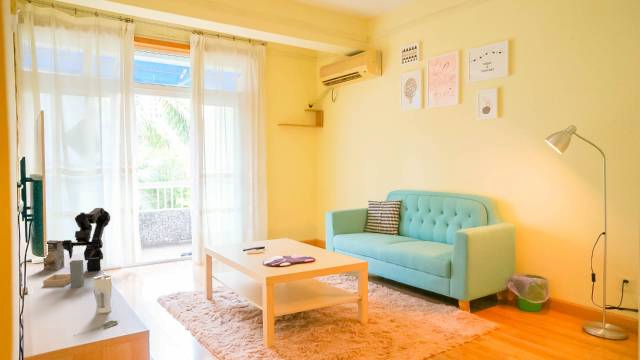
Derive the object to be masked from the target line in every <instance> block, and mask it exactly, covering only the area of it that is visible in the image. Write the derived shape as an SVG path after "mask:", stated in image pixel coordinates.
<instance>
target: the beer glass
mask: <svg viewBox="0 0 640 360" xmlns="http://www.w3.org/2000/svg"><path fill="white" fill-rule="evenodd" d="M111 277H112V276H111V275H99V276H96V277H94V278H93V293H94V299H95V303H96V309H95V314H97V315H106V314H108V313H111V311H112V306H111V298H112V297H111V296H112V290H113V289H112V288H113V286H112V278H111Z"/></svg>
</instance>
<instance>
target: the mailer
mask: <svg viewBox="0 0 640 360" xmlns="http://www.w3.org/2000/svg"><path fill="white" fill-rule="evenodd" d="M42 283H43V287H65V286H67V285H69V284H71V278H70V273H64V274H62V273H60V274H57V273H56V274H53V275H51V276H49V277H48V278H45V279H43V280H42Z"/></svg>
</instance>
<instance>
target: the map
mask: <svg viewBox="0 0 640 360" xmlns="http://www.w3.org/2000/svg"><path fill="white" fill-rule="evenodd" d="M116 324H118V320H109V321H107V322H105V323H103V324H101V325H100V327H103V331H104V330H106V329H108V328H111V327H113V326H115V325H116ZM73 335H74V336H75V334H73Z"/></svg>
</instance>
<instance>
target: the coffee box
mask: <svg viewBox="0 0 640 360" xmlns="http://www.w3.org/2000/svg"><path fill="white" fill-rule="evenodd" d="M63 241H64V240H50V239H49V240H48V241H46V242H47V244H48V255H47V257H46V258H43V257H42V259H43V270H52V271H54V270H55V271H56V270H60V269H63V268H65V249H64V248H63V246H62V242H63Z"/></svg>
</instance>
